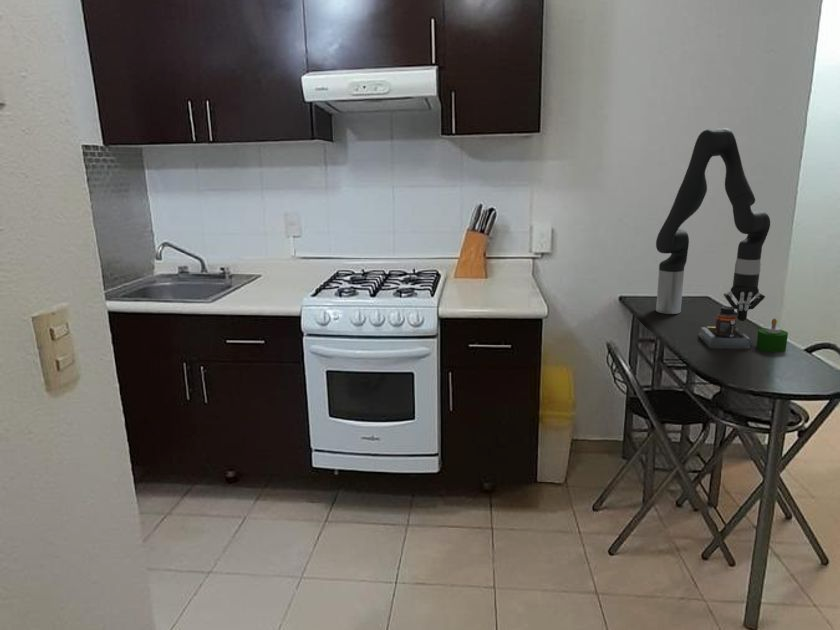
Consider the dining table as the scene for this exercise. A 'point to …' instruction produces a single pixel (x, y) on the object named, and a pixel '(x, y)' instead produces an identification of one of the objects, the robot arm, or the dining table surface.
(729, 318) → the supplement bottle
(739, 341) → the dock
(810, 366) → the dining table surface
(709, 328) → the bar
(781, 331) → the candle
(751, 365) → the dining table surface
